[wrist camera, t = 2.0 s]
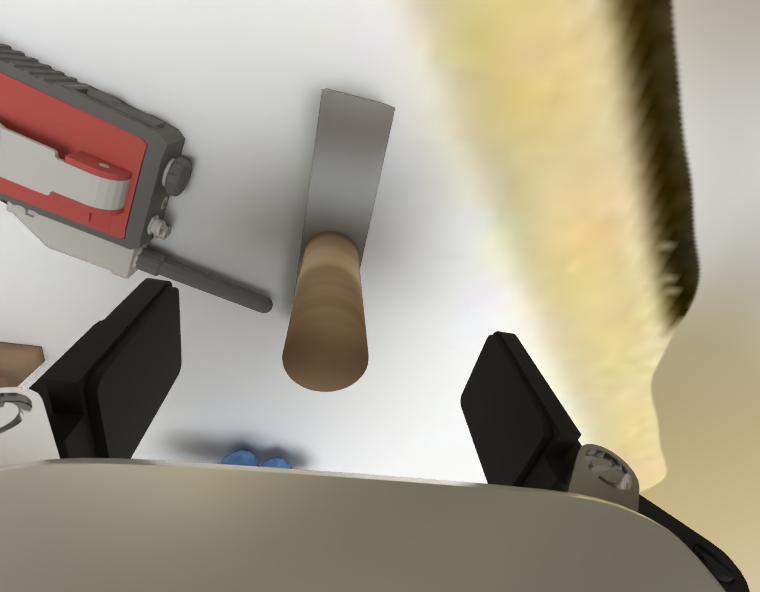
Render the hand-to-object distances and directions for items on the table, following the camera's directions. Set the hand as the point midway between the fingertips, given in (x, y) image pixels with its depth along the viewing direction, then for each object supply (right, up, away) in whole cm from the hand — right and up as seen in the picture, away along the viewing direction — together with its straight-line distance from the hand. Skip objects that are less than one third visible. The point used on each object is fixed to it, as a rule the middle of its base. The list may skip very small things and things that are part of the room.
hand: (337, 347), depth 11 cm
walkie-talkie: (-13, +8, +10) cm, 18 cm away
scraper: (-2, +6, +11) cm, 13 cm away
